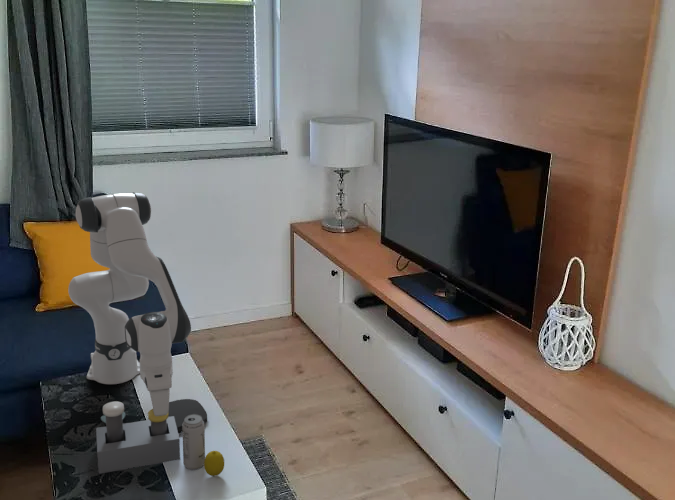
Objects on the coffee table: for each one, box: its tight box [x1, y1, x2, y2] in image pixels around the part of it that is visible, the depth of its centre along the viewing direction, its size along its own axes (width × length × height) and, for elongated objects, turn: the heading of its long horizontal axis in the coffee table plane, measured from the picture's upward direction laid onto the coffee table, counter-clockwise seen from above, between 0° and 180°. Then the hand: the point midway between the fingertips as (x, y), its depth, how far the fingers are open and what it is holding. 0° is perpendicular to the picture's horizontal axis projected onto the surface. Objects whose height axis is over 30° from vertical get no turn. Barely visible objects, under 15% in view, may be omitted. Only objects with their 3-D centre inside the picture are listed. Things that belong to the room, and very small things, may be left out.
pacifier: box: [100, 411, 126, 424], centre depth 206 cm, size 7×6×6 cm
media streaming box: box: [168, 398, 208, 434], centre depth 209 cm, size 15×15×3 cm
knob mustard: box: [147, 408, 168, 436], centre depth 191 cm, size 6×6×11 cm
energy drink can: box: [181, 414, 206, 471], centre depth 185 cm, size 6×6×15 cm
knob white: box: [102, 400, 125, 443], centre depth 186 cm, size 6×6×11 cm
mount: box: [95, 416, 181, 475], centre depth 190 cm, size 12×22×7 cm, turn 110°
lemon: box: [203, 450, 225, 477], centre depth 182 cm, size 6×6×8 cm
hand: (158, 412), depth 189 cm, fingers closed, pressing on knob mustard
